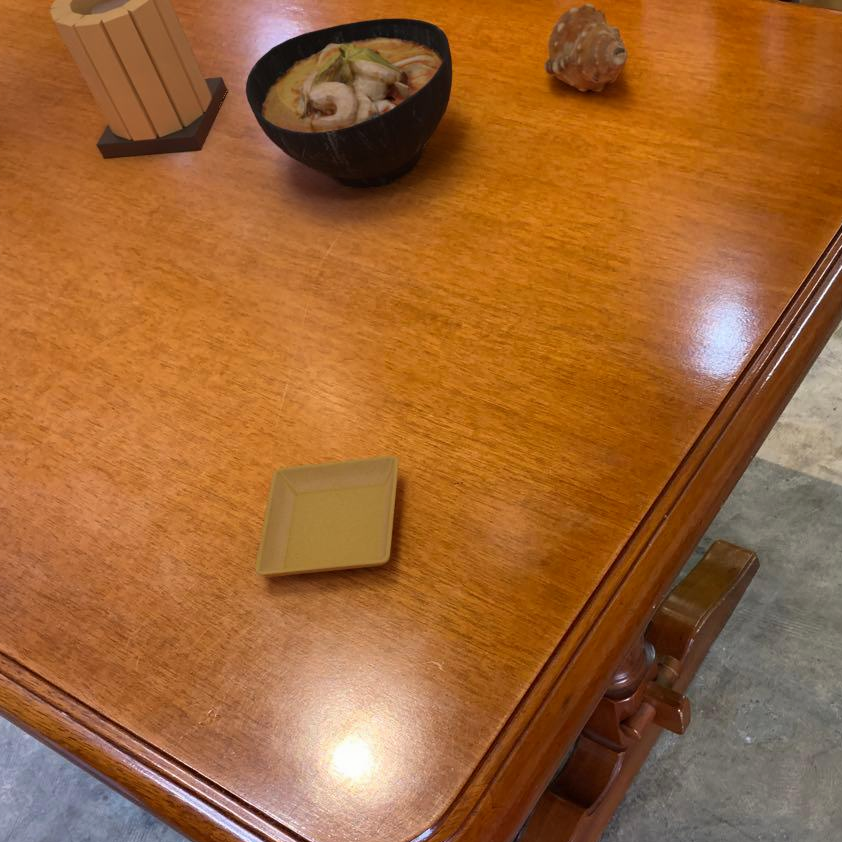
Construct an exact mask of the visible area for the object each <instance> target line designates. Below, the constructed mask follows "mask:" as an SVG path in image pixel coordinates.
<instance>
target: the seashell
mask: <svg viewBox="0 0 842 842" xmlns="http://www.w3.org/2000/svg"><path fill="white" fill-rule="evenodd" d="M547 44H548V56H549V58H548V59H547V60H546V61H545V62H544V67H543V68H544V72H545V73H546V74H547V75H548V76H551V77H553V76H556V78H557V79H558V80H560V81H562V82H564V83H566V84H567V85H569V86H571V87H575V88H576V89H577V90H578V91H580V92H587V91H588V90H592V91H594V92H600V91H602V90H603V89H604V86H605V85H606V84H607V83H611V84H612V83H614V82H615V81H616V80H617V78H618V75H619V74H620V72H621V70H622V69H623V68H624V67H625V64H626V62H627V59H628V51H627V47H626V44H625V43H624V41H623V38H622V37H621V33H620V29H619V28H618V26H614V25H613V26H612V25H610V24H609V23H608V22H607V19H606V13H605V12H604V11H603V10H602V9H598V10H597V9H596V8H595V6H594V5H593V4H590V3H585V4H583V5H582V6H581V7H578V6H575V7H571V8H570V9H568V10H565V11H564V12H563V13H562V14H561V15H560V18H558V20H557V21H555V22H554V24H553V27H552V30H551V34H550V35H549V37H548V41H547Z"/></svg>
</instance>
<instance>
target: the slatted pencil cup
mask: <svg viewBox="0 0 842 842" xmlns="http://www.w3.org/2000/svg"><path fill="white" fill-rule="evenodd" d="M102 1H104V0H54V1H53V3H52V4H51V6H50V7H49V8H50V9H49V13H50V17H51V19H52V22H53V23H54V25H55V27H56V29H57V31H58V32H59V35H60V37H61V38H62V41H63V43H64V44H65V46H66V48H67V50H68V51H69V53H70V55H71V57H72V59H73V61H74V63H75V65H76V67H77V68H78V70H79V72H80V74H81V76H82V78H83V79H84V82H85V83H86V86H87V87H88V89H89V91H90V93H91V95H92V96H93V98H94V100H95V102H96V104H97V106H98V108H99V110H100V112H101V114H102V116H103V117H104V119H105V121H106V123H107V125H109V127H110V128H111V130H112V132H113V133H114V134H115V135H117V136H119V137H122V138H125V139H128V140H131V139H133V140H134V141H137V140H148V139H156V138H157V136H158V135H159V137H160V138H161V137H163V136H166V135H169V134H171V133H174V132H176V131H179V130H182V129H183V128H182V126H185V127H187V126H189V125H190V124H191V123H192V122H194V121H195V120H196V119H198V118H199V117H200V116H202V115H203V112H206V110H207V108H208V105H209V103H210V101H211V99H212V97H211V96H212V95H211V92H210V90H209V88H208V85H207V83H206V81H205V79H206V78H205V77H204V74H203V72H202V69H201V67H200V65H199V62H198V61H197V57H196V55H195V53H194V51H193V49H192V46H191V44H190V42H189V40H188V37H187V35H186V32H185V30H184V28H183V25H182V23H181V20H180V18H179V16H178V14H177V12H176V9H175V7H174V5H173V2H172V0H130V1H129V2H127V3H126V4H124V5H123V6H121V7H118V8H116V9H113V10H110V11H107V12H105V13H100V14H91V11H92V9H93V8H94V6H96V5H97V4H98V3H100V2H102ZM181 125H182V126H181Z"/></svg>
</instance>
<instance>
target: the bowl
mask: <svg viewBox="0 0 842 842" xmlns="http://www.w3.org/2000/svg"><path fill="white" fill-rule="evenodd" d="M449 42H450V41H449V39H448V37H447V33H445V31H444V30H443V29H442V28H440V27H439V26H437V24H433V23H431V22H428V21H425V20H421V19H415V18H414V19H413V18H403V17H401V18H397V17H396V18H376V19H367V20H360V21H355V22H350V23H343V24H338V25H333V26H329V27H326V28H320V29H317V30H313V31H308V32H305V33H301V34H299V35H297V36H294V37H291V38H289V39H286V40H284V41H282V42H280V43H278V44H277V45H275V46H273V47H271V48H270V49H269V50H268V51H267V52H265V53H264V54H263V55H262V56H261V57H260V58H259V59H258V60H257V61H256V62H255V64H254V65H253V66H252V68H251V70H250V72H249V74H248V76H247V79H246V82H245V95H246V99H247V102H248V104H249V107H250V109H251V111H252V113H253V115H254V117H255V120H256V121H257V123H258V125H259V127H260V128H261V129H262V131H263V132H264V133H263V134H265V136H266V137H267V138H268V139H269V140H270V141H271V142H272V143H273V144H274V145H275V146H276V147H277V148H279V149H280V150H281V151H282V152H283V153H285V154H286V155H287V156H288V157H289V158H291V159H293V160H295V161H296V162H298V163H300V164H302V165H303V166H305V167H307V168H309V169H311V170H313V171H317V172H319V173H321V174H325V175H328V176H329V177H330V178H331V179H332V180H334V182H335V183H338V184H339V185H341V186H343V187H346V188H351V189H359V190H364V189H365V190H367V189H374V188H380V187H383V186H387V185H390V184H392V183H394V182H397V181H399V180H401V179H402V178H404V177H405V176H408V175H409V174H410V173H411V172H412V171H413V170H414V169H415V168H416V167H417V166H418V164H419V162H420V161H421V160H422V157H423V153H424V149H425V146H426V145H427V144H428V142H429V141H430V139H432V137H433V136H434V134H435V132H436V130H437V129H438V128H439V127H438V126H439V124H440V123H441V121H442V119H443V117H444V116H445V114H446V111H447V108H448V106H449V102H450V99H451V92H452V87H453V58H452V53H451V47H450V43H449Z"/></svg>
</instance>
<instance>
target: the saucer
mask: <svg viewBox="0 0 842 842" xmlns="http://www.w3.org/2000/svg"><path fill="white" fill-rule="evenodd" d="M399 465H400V459H399V458H398V457H397V456H394V455H382V456H374V457H371V456H370V457H365V458H364V457H363V458H356V459H347V460H341V461H331V462H319V463H312V464H301V465H292V466H291V465H290V466H282V467H279V468H277V469H276V470H275V471H274V472H273V473H272V477H271V481H270V488H269V492H268V497H267V503H266V509H265V514H264V520H263V525H262V530H261V535H260V540H259V545H258V550H257V554H256V559H255V564H254V565H255V566H254V571H255V573H256V575H258V576H261V577H282V576H292V575H301V574H310V573H313V574H314V573H322V572H332V571H333V572H334V571H341V570H352V569H362V568H371V567H380V566H383V565H386V564H387V563H388V561H390V558H391V549H392V537H393V528H394V526H393V525H394V516H395V505H396V503H395V502H396V497H397V495H396V494H397V486H398V485H397V484H398V475H399Z"/></svg>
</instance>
